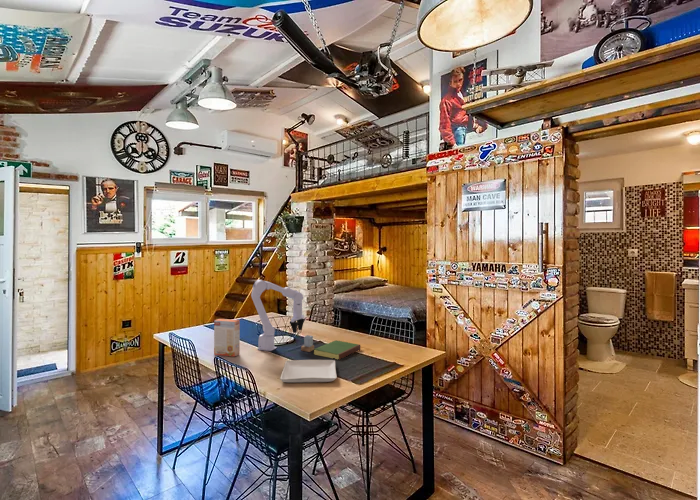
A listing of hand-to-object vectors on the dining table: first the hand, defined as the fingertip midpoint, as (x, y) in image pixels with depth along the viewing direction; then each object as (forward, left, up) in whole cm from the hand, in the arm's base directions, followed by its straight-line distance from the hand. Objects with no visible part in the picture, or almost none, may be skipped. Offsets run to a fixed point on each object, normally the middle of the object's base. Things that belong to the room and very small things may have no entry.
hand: (297, 331), depth 246 cm
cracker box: (-31, -31, -10) cm, 45 cm away
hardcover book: (+29, -2, -11) cm, 31 cm away
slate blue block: (+10, -5, -7) cm, 13 cm away
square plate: (+29, -44, -10) cm, 53 cm away
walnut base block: (+10, -5, -10) cm, 15 cm away
